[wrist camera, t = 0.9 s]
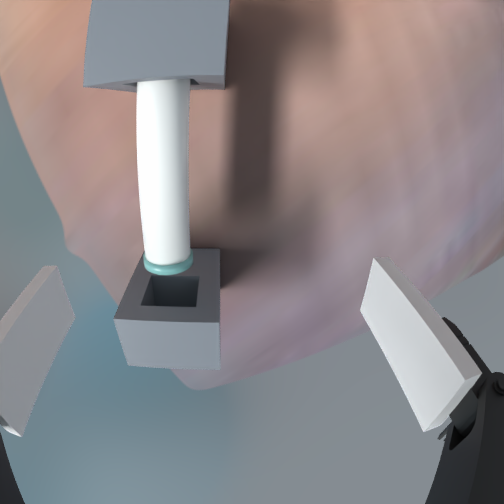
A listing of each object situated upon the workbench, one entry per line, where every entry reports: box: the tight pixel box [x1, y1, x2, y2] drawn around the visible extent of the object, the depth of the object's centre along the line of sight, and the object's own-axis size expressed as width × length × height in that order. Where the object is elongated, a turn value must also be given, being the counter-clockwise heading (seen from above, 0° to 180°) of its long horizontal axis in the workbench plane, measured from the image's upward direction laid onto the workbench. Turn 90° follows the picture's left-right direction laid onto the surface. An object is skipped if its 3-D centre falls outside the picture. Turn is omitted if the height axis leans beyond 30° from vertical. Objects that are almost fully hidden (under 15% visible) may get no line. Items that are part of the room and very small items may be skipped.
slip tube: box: [137, 79, 193, 275], centre depth 19 cm, size 25×4×4 cm, turn 177°
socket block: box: [114, 248, 221, 370], centre depth 30 cm, size 6×9×13 cm, turn 87°
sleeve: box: [83, 0, 230, 93], centre depth 18 cm, size 8×9×13 cm
